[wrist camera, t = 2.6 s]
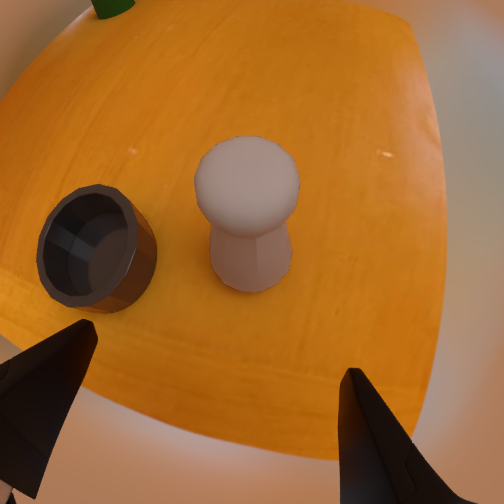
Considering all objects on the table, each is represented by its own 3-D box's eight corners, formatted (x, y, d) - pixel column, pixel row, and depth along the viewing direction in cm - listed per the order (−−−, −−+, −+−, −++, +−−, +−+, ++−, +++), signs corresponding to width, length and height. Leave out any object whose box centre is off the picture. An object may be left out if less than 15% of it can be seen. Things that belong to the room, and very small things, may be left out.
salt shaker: (279, 305, 22) (308, 260, 10) (206, 287, 22) (148, 224, 10) (294, 234, 24) (329, 128, 11) (226, 219, 24) (199, 106, 12)
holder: (174, 283, 23) (156, 269, 18) (82, 330, 21) (51, 327, 17) (136, 190, 25) (118, 164, 21) (57, 238, 24) (30, 221, 20)
